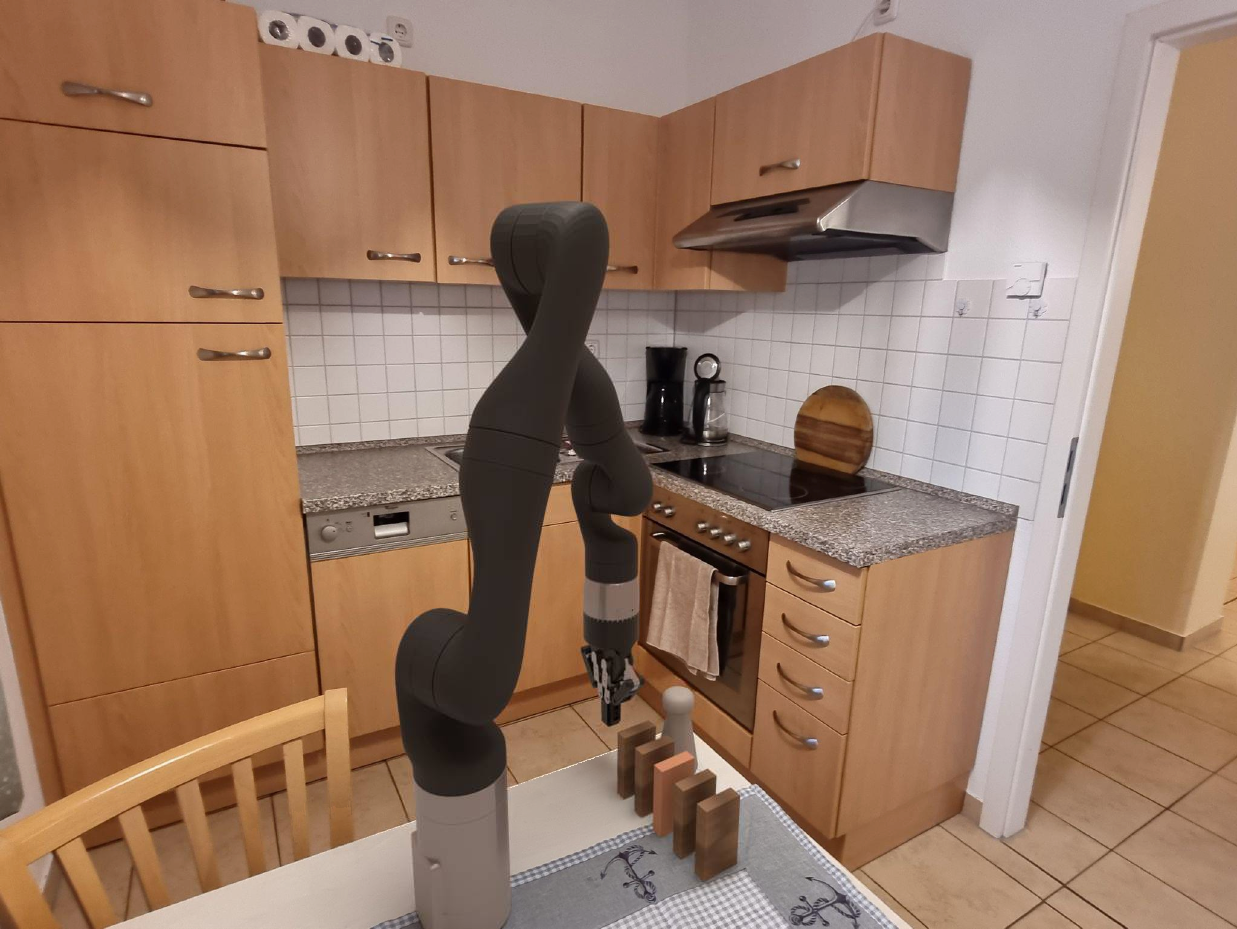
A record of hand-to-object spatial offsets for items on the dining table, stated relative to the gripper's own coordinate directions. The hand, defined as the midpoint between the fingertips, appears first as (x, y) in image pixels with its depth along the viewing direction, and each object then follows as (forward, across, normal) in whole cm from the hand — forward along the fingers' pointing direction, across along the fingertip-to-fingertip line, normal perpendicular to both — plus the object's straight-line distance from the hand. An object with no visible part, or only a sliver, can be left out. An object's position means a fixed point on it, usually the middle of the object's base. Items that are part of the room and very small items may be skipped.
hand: (610, 722), depth 96 cm
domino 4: (+7, -18, 0) cm, 19 cm away
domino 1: (+7, -6, 0) cm, 9 cm away
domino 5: (+7, -22, 0) cm, 23 cm away
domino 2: (+7, -10, 0) cm, 12 cm away
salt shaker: (+7, -7, -6) cm, 12 cm away
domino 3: (+7, -14, 0) cm, 16 cm away
